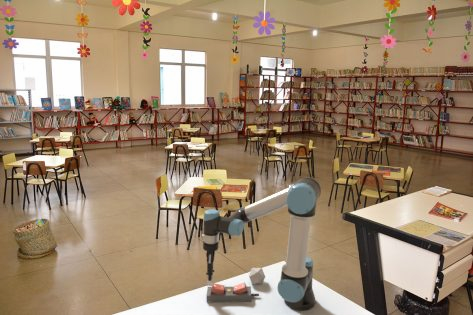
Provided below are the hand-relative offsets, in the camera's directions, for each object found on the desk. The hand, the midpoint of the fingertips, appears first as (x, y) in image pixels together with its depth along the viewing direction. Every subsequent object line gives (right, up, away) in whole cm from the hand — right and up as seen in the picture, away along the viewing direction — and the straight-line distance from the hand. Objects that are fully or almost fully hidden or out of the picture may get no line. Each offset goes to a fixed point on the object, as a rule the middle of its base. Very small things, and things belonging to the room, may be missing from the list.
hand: (209, 285), depth 185 cm
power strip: (+12, -7, +1) cm, 13 cm away
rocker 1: (+4, -3, +1) cm, 5 cm away
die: (+24, -4, +15) cm, 29 cm away
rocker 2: (+16, -3, +1) cm, 16 cm away
